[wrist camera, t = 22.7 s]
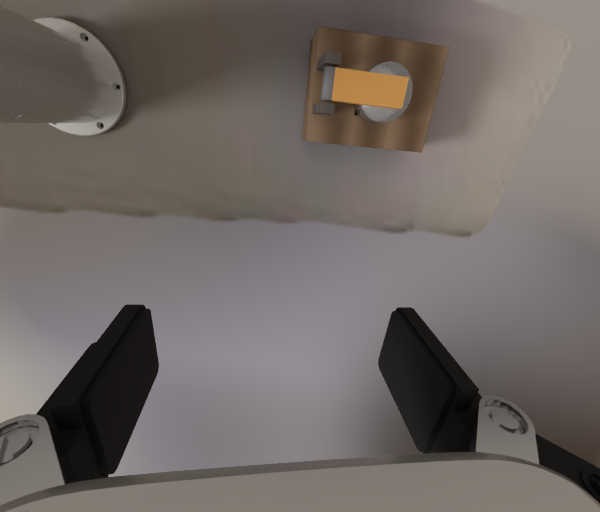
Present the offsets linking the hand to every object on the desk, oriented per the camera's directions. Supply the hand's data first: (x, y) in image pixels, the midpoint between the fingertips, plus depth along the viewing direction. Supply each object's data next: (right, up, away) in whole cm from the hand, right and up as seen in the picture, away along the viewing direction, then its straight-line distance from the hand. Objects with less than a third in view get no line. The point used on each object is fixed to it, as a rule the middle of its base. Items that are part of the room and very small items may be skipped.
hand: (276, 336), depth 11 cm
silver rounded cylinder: (+10, +25, +29) cm, 40 cm away
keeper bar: (+8, +22, +20) cm, 31 cm away
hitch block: (+10, +26, +30) cm, 40 cm away
